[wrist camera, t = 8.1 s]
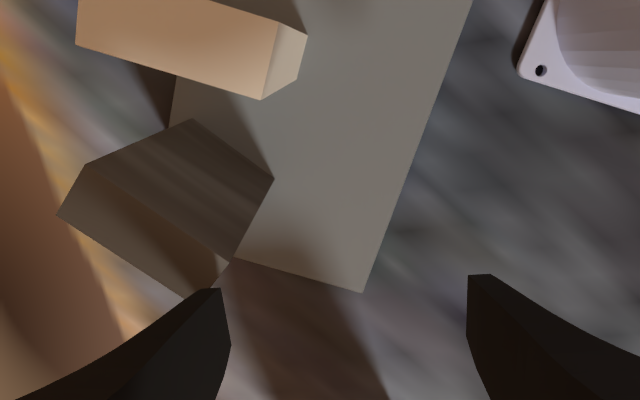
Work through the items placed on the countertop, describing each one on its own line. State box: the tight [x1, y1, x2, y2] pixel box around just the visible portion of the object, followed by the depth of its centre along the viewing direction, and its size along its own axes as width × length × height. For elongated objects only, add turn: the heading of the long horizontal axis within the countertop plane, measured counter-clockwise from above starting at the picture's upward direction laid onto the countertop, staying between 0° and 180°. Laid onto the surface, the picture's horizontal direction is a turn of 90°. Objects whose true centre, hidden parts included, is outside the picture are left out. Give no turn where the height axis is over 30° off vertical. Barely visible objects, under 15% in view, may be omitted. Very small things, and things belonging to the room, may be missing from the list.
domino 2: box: [56, 118, 275, 299], centre depth 17 cm, size 2×5×9 cm, turn 52°
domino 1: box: [75, 0, 308, 100], centre depth 15 cm, size 2×5×9 cm, turn 74°
